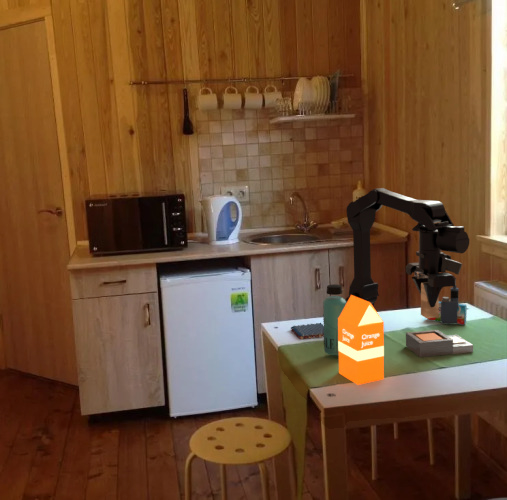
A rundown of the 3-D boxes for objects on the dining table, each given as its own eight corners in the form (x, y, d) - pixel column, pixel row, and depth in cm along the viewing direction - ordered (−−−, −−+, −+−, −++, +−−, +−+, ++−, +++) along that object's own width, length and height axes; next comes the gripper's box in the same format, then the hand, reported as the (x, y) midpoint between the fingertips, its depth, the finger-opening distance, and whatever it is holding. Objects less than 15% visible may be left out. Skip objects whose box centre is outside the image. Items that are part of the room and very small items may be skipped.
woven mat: (333, 337, 189) (333, 331, 188) (299, 341, 187) (299, 335, 186) (322, 327, 199) (322, 321, 198) (289, 331, 197) (289, 325, 196)
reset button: (423, 346, 170) (423, 340, 170) (415, 339, 175) (415, 334, 175) (443, 344, 171) (443, 339, 171) (434, 338, 176) (434, 332, 176)
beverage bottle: (350, 354, 173) (349, 283, 169) (343, 362, 167) (342, 288, 163) (328, 351, 176) (326, 281, 172) (320, 359, 170) (318, 287, 166)
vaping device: (458, 324, 195) (459, 286, 192) (441, 324, 196) (441, 286, 193) (457, 321, 197) (458, 284, 195) (440, 321, 198) (440, 284, 196)
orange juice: (357, 385, 152) (356, 304, 148) (338, 373, 160) (337, 296, 156) (384, 379, 155) (384, 300, 151) (364, 367, 163) (363, 292, 159)
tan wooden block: (426, 318, 170) (426, 285, 168) (420, 314, 173) (421, 282, 172) (438, 317, 170) (438, 284, 169) (432, 313, 174) (433, 281, 172)
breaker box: (420, 357, 168) (420, 343, 167) (405, 346, 177) (405, 332, 177) (473, 352, 171) (473, 337, 170) (456, 341, 180) (456, 327, 179)
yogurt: (426, 319, 201) (427, 301, 200) (428, 318, 202) (428, 300, 201) (464, 325, 194) (465, 305, 193) (466, 323, 195) (466, 304, 194)
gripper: (475, 252, 161) (474, 311, 164) (442, 241, 179) (441, 294, 182) (434, 255, 159) (433, 315, 162) (405, 243, 177) (404, 297, 180)
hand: (429, 305), depth 171 cm, fingers closed on tan wooden block, 3 cm apart
